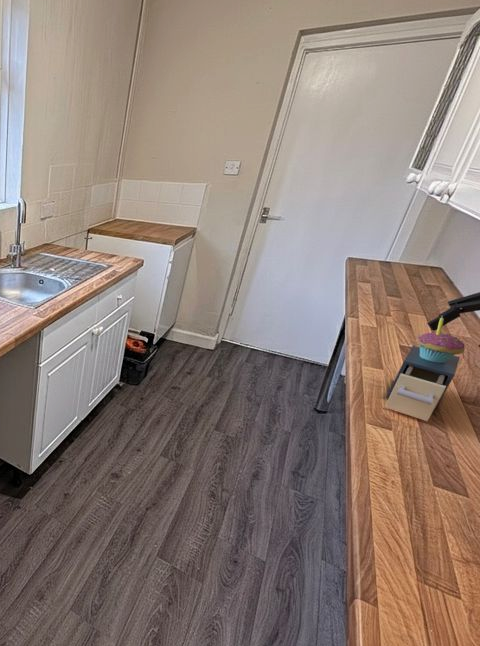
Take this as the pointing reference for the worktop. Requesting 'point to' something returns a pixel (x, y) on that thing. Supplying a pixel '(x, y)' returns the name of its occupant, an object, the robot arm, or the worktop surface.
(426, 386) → the drawer
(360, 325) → the worktop surface
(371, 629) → the worktop surface
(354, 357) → the worktop surface
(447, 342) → the cupcake
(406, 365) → the cabinet
